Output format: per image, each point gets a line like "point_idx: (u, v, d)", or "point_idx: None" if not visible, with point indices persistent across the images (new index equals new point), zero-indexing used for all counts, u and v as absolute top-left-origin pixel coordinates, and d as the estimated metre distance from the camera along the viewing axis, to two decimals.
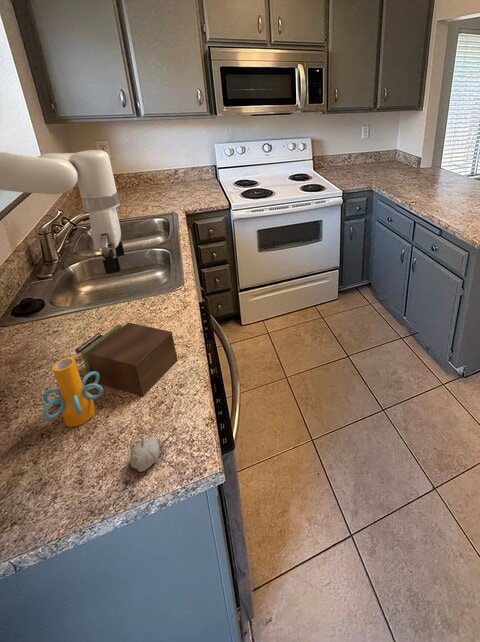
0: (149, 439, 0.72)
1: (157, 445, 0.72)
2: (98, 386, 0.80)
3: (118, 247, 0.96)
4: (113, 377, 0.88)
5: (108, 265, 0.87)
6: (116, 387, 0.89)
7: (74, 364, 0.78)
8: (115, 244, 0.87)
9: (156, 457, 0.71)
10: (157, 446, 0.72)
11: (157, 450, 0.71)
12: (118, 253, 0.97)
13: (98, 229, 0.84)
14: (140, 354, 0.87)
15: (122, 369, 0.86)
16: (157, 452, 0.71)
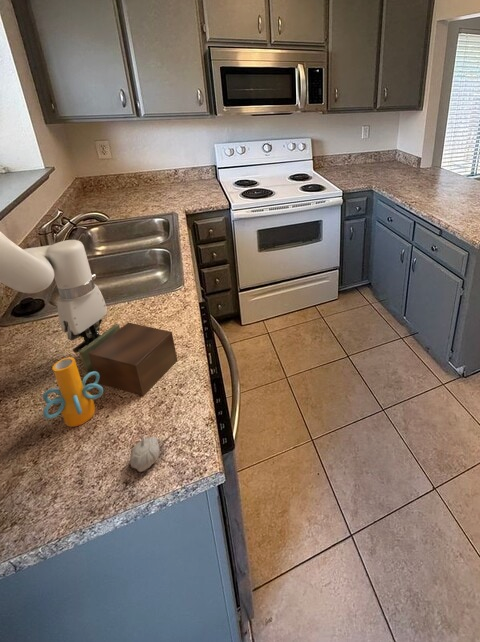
0: (149, 439, 0.72)
1: (157, 445, 0.72)
2: (98, 386, 0.80)
3: None
4: (113, 377, 0.88)
5: (85, 341, 0.95)
6: (116, 387, 0.89)
7: (74, 364, 0.78)
8: (74, 332, 0.89)
9: (156, 457, 0.71)
10: (157, 446, 0.72)
11: (157, 450, 0.71)
12: None
13: (61, 316, 0.89)
14: (140, 354, 0.87)
15: (122, 369, 0.86)
16: (157, 452, 0.71)
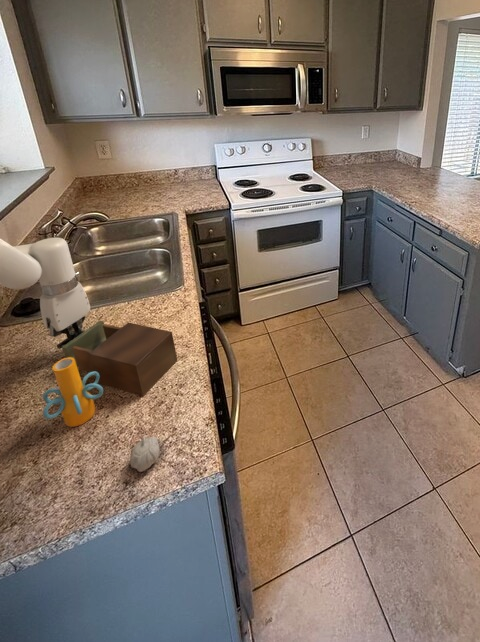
0: (149, 439, 0.72)
1: (157, 445, 0.72)
2: (98, 386, 0.80)
3: None
4: (113, 377, 0.88)
5: (68, 338, 0.96)
6: (116, 387, 0.89)
7: (74, 364, 0.78)
8: (56, 329, 0.91)
9: (156, 457, 0.71)
10: (157, 446, 0.72)
11: (157, 450, 0.71)
12: None
13: (43, 312, 0.90)
14: (140, 354, 0.87)
15: (122, 369, 0.86)
16: (157, 452, 0.71)
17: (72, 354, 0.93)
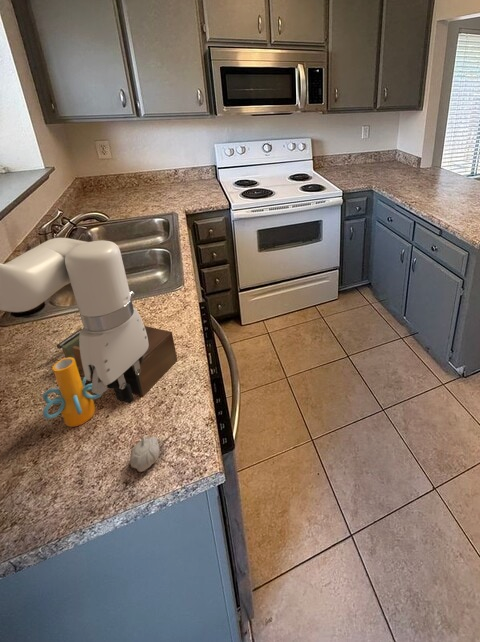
0: (149, 439, 0.72)
1: (157, 445, 0.72)
2: None
3: (132, 383, 0.66)
4: None
5: (116, 393, 0.64)
6: None
7: (74, 364, 0.78)
8: (105, 382, 0.59)
9: (156, 457, 0.71)
10: (157, 446, 0.72)
11: (157, 450, 0.71)
12: (132, 390, 0.66)
13: (85, 357, 0.58)
14: None
15: None
16: (157, 452, 0.71)
17: (72, 354, 0.93)
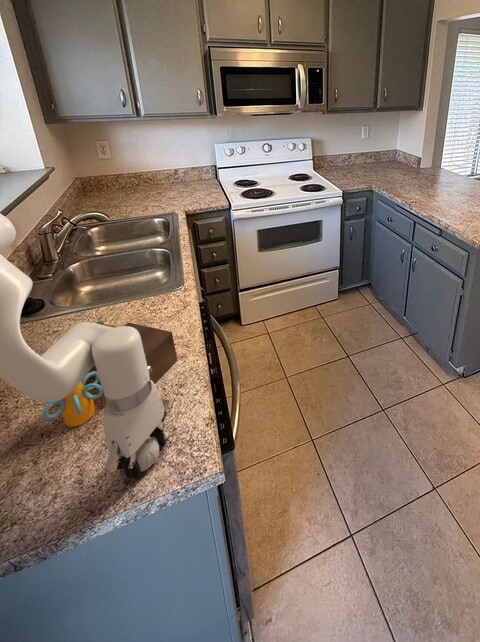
0: (149, 439, 0.72)
1: (157, 445, 0.72)
2: (98, 386, 0.80)
3: (157, 437, 0.73)
4: None
5: (125, 471, 0.67)
6: None
7: None
8: (127, 455, 0.64)
9: (156, 457, 0.71)
10: (157, 446, 0.72)
11: (157, 450, 0.71)
12: (158, 443, 0.74)
13: (109, 434, 0.63)
14: None
15: None
16: (157, 452, 0.71)
17: None
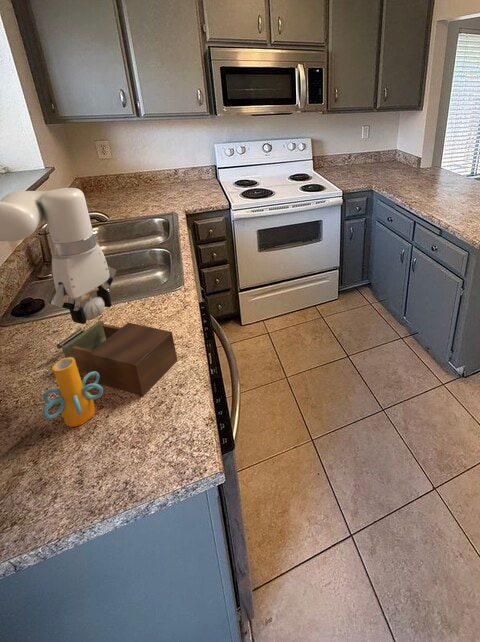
0: (96, 297, 0.84)
1: (102, 302, 0.84)
2: (98, 386, 0.80)
3: (104, 297, 0.86)
4: (113, 377, 0.88)
5: (71, 315, 0.79)
6: (116, 387, 0.89)
7: (74, 364, 0.78)
8: (71, 296, 0.77)
9: (100, 310, 0.83)
10: (102, 302, 0.84)
11: (102, 305, 0.83)
12: (104, 303, 0.86)
13: (56, 276, 0.76)
14: (140, 354, 0.87)
15: (122, 369, 0.86)
16: (101, 306, 0.83)
17: (72, 354, 0.93)
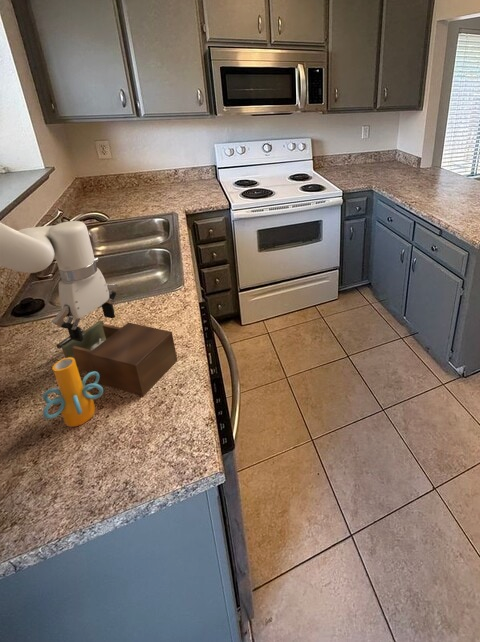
0: None
1: None
2: (98, 386, 0.80)
3: (108, 310, 0.97)
4: (113, 377, 0.88)
5: (69, 333, 0.88)
6: (116, 387, 0.89)
7: (74, 364, 0.78)
8: (76, 316, 0.87)
9: None
10: None
11: None
12: (108, 315, 0.98)
13: (62, 299, 0.86)
14: (140, 354, 0.87)
15: (122, 369, 0.86)
16: None
17: (72, 354, 0.93)
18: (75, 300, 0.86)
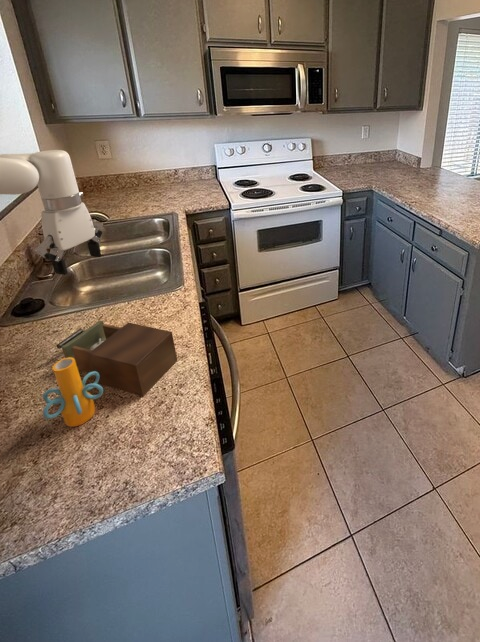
0: None
1: None
2: (98, 386, 0.80)
3: (94, 248, 0.95)
4: (113, 377, 0.88)
5: (53, 266, 0.86)
6: (116, 387, 0.89)
7: (74, 364, 0.78)
8: (59, 247, 0.85)
9: None
10: None
11: None
12: (95, 254, 0.96)
13: (45, 229, 0.84)
14: (140, 354, 0.87)
15: (122, 369, 0.86)
16: None
17: (72, 354, 0.93)
18: (58, 230, 0.84)
